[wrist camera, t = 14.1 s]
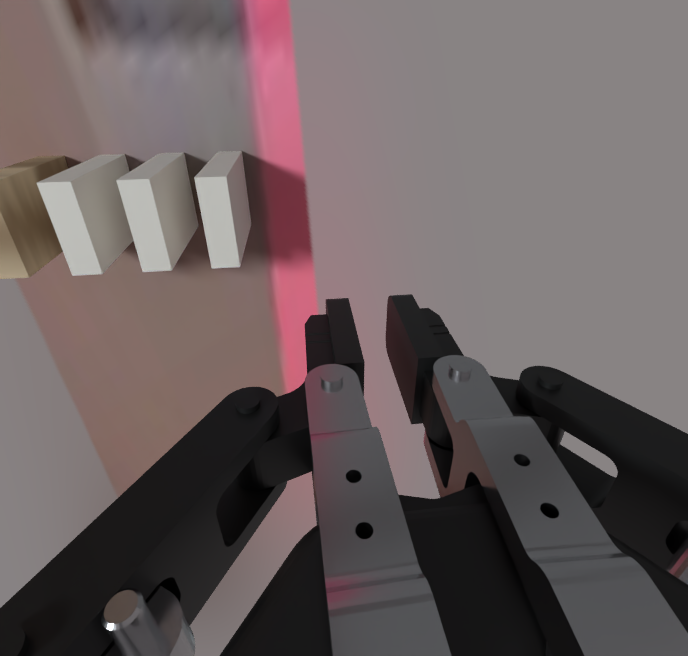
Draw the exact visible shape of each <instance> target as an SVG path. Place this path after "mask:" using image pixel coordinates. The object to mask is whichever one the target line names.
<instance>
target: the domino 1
mask: <svg viewBox="0 0 688 656" xmlns="http://www.w3.org/2000/svg"><path fill="white" fill-rule="evenodd" d="M67 169H69V168H68V165H67V162H66V159H65V156H38V157H35V158H32V159H29V160H26V161H23V162H20V163H17V164H14V165H11V166H8V167H5V168H2V169H0V279H7V278H29V277H31V276H32V275H33V274H35V273H36V272H37V271H38V270H40V269H41V268H42V267H44V266H45V265H46V264H47V263H49V262H50V261H51V260H52V259H54V258H55V257H56V256H58V255H59V254H60V253H61V252H63V250H62V247H61V245H60V242H59V240H58V237H57V234H56V232H55V229H54V227H53V224H52V222H51V219H50V216H49V214H48V211H47V209H46V206H45V204H44V201H43V199H42V196H41V193H40V191H39V188H38V186H37V182H39V181H41V180H44V179H46V178H48V177H51V176H53V175H55V174H57V173H60V172H62V171H64V170H67Z"/></svg>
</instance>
